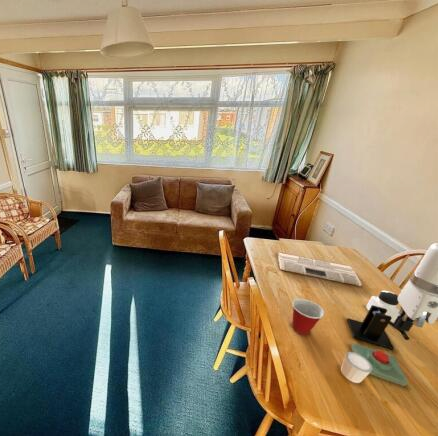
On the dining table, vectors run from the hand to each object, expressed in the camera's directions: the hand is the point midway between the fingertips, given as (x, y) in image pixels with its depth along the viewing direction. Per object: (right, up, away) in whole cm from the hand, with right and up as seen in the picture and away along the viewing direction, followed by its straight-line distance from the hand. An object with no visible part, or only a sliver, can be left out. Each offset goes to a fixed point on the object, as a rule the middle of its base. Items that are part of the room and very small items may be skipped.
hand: (400, 327), depth 74 cm
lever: (+11, -6, +15) cm, 20 cm away
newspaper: (+15, +6, +59) cm, 61 cm away
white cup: (-12, -19, +5) cm, 23 cm away
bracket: (+8, -12, +19) cm, 24 cm away
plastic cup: (-18, -11, +22) cm, 31 cm away
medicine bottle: (+22, -8, +29) cm, 37 cm away
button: (0, -14, +7) cm, 15 cm away
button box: (0, -17, +8) cm, 19 cm away
